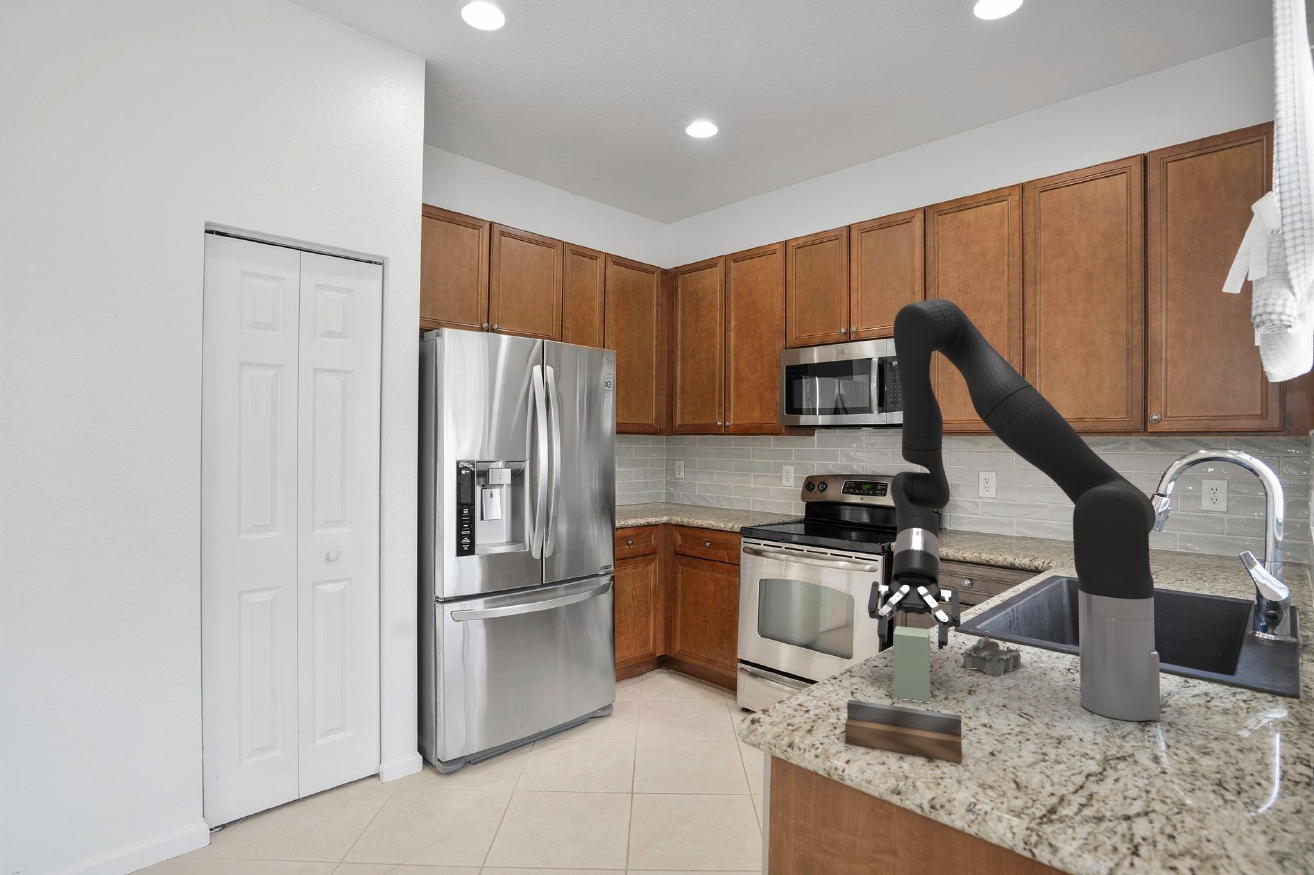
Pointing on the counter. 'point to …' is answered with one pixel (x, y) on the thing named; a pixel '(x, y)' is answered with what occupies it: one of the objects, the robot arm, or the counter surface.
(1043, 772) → the counter surface
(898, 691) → the green block
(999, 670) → the grey scalloped block
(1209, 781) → the counter surface
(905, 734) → the dock
